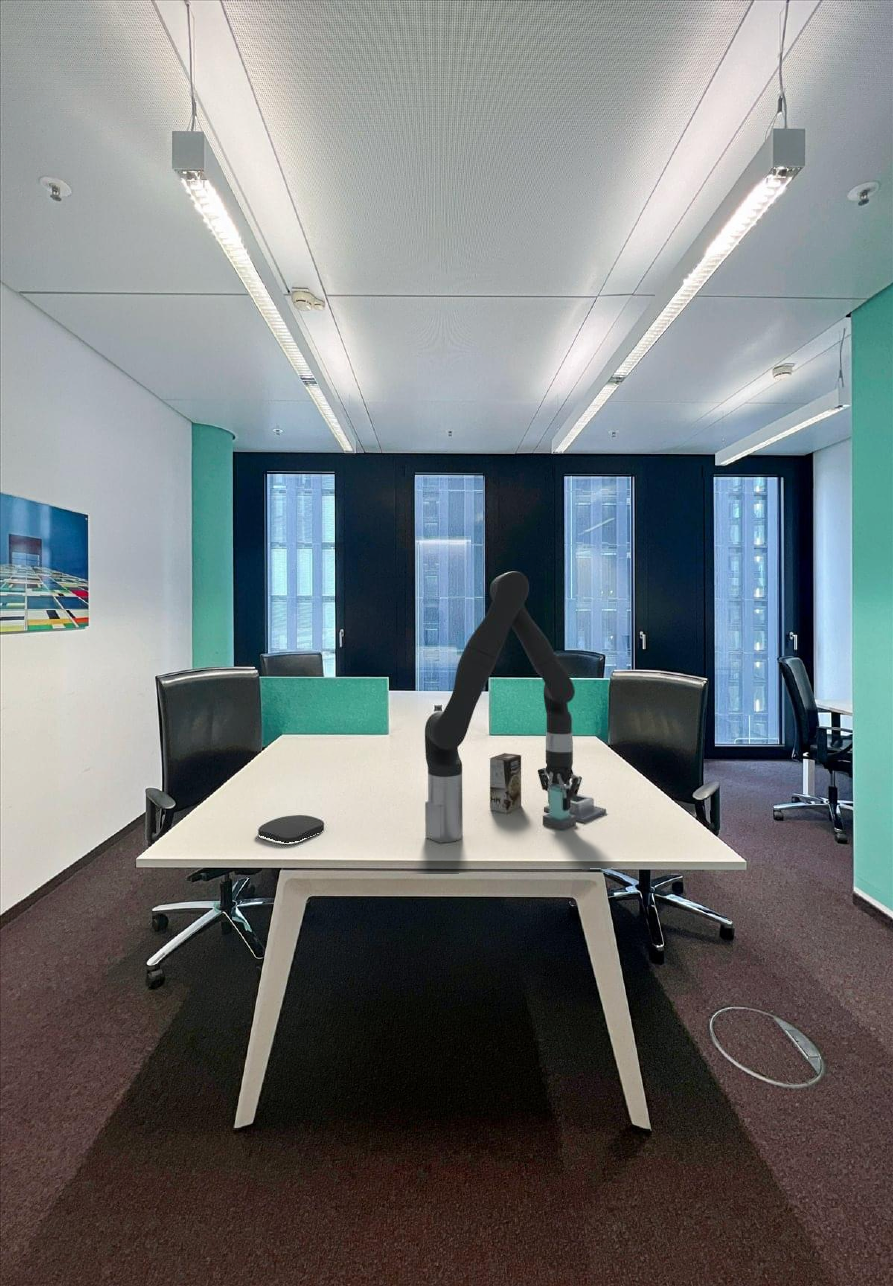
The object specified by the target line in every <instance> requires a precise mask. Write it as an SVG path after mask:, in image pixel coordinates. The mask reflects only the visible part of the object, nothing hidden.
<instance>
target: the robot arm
mask: <svg viewBox="0 0 893 1286" xmlns="http://www.w3.org/2000/svg"><path fill="white" fill-rule="evenodd" d="M529 592H530V583H529V580H528V578H527V577H526V575H524V574H523V573H522V572H520V571H508V572H506V573H505V572H504V573H503V574H501V575H499V576H497V577H496V578H494V580H492V582H491V584H490V587H489V595H490V597H491V599H492V602H491V604H490V607H489V609H488V611H487V613H486V614H485V617H484V618H483V619H482V621H481V622H480V624H479V625H478V626H477V627H476V629H475V631H474V632H473V633H472V635H471V636H470V638H469V640H468V641H467V643H466V645H465V647H464V649H463V651H462V653H461V655H460V658H459V660H458V664H457V668H456V672H455V678H454V684H453V691H452V692H451V696H450V698H449V701H448V703H447V704H446V706H445V708H444V710H441V711H435V712H434V713H431V715H430V716H429V717H427V720H426V723H425V727H424V749H425V761H426V764H427V765H426V766H427V801H425V804H424V814H425V815H424V816H425V818H424V820H425V826H424V827H425V829H424V831H425V838H426V839H429V840H432V841H434V842H436V843H438V844H443V843H451V842H452V843H453V842H456V841H459V840H461V839H462V838H463V836H464V835H463V833H464V832H463V828H464V827H463V825H464V824H463V822H464V821H463V819H464V818H463V817H464V815H463V812H464V811H463V762H462V760H461V757H460V754H459V749H458V748H459V746H461V744H462V743H463V741H464V740H465V738H466V736H467V733H468V730H469V726H470V723H471V721H472V718H473V714H474V712H475V709H476V706H477V703H478V702H479V700H480V697H481V695H482V693H483V691H484V690H485V687H486V684H487V682H488V680H489V678H490V676H491V674H492V672H493V669H494V668H495V665H496V663H497V661H498V658H499V656H500V652H501V651H502V649H503V646H504V644H505V641H506V639H507V637H508V634H509V631H510V629H511V628H512V630H513V631H514V633H515V635H516V637H517V638H518V640H519V642H520V643H521V646H522V647H523V649H524V652H525V653H526V655H527V658H528V659H529V661H530V663H531V665H532V667H533V669H534V671H535V672H536V673H537V675H539V676H540V677H541V679H542V681H543V682H544V685H543V701H544V708H545V712H546V714H545V715H546V735H545V764H546V767H543V768H539V769H537V775H538V778H539V782H540V786H541V789H542V790H543V791H546V792H547V798H548V799H547V800H548V801H547V803H548V804H549V789H552V786H553V785H556V784H559V785H560V789H561V790H562V792H563V797H564V798H563V811H567V810H569V809H570V807H571V797H573V796H576V795H577V794H578V793H579V790H580V787H581V784H582V781H583V778H582V776H580V775H576V774H574V771H573V764H574V755H573V754H574V746H573V745H574V741H573V740H574V739H573V733H572V732H573V719H572V718H573V717H572V714H571V713H570V711H569V709H568V708H569V707H568V703H570V702H571V701H572V700H573V699H574V696H575V689H576V688H575V685H574V682H573V681H572V679H571V678H570V676H569V674H568V672H567V671H566V670H565V668H564V667H563V666H562V665H561V663H560V662H559V660H558V657H557V655H556V653H555V651H554V649H553V647H552V645H551V643H550V642H549V639H548V638H547V637H546V635H545V634H544V633H543V631H542V630H541V628H539V627H538V625H537V624H536V622H535V621H534V620H533V619H532V617H531V616H530V614H529V612H528V610H527V609H526V607H525V601H526V600H527V598H528V597H529Z"/></svg>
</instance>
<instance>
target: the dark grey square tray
mask: <svg viewBox="0 0 893 1286" xmlns="http://www.w3.org/2000/svg"><path fill="white" fill-rule="evenodd" d="M542 825H543V826H547V827H549V828H552V829H556V830H558V831H561V832H563V831H565V830H567V829H570V828H571V827H574V826H577V821H576V816H574V815H571V814H569V817H568V818H566V819H563V820H559V819H556V818H552V817H549V813H546V814H543V815H542Z"/></svg>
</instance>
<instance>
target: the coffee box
mask: <svg viewBox="0 0 893 1286" xmlns="http://www.w3.org/2000/svg"><path fill="white" fill-rule="evenodd" d="M520 807H522V755H521V754H517V753H505V752H504V753H501V754H498V755H495V756H492V757H489V810H491V811H494V812H499V813H504V814H508V813H511V812H512V811H514V810H516V809H518V808H520Z"/></svg>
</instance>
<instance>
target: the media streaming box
mask: <svg viewBox="0 0 893 1286" xmlns="http://www.w3.org/2000/svg"><path fill="white" fill-rule="evenodd" d="M323 830H324V831H325V822H324V821H323V819H320V818H318V817H316V816H310V815H306V814H305V815H304V814H297V815H286V816H285V815H284V816H281V817H280V816H279V817H277V818H274V819H272V820H270V821H267V822H265V823H263V824H261V825H260V826H259V827H258V828H257V831H258V832H257V835H258V834H259V835H260V836H264V837H266V838H270V839H273V840H275V841H281V842H284V843H289V842H295V841H300V840H302V839H304V838H308V837H310V836H313V835H315V834H317V833H320V832H322V831H323ZM324 831H323V832H324ZM323 832H322V833H323ZM320 834H321V833H320Z"/></svg>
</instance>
